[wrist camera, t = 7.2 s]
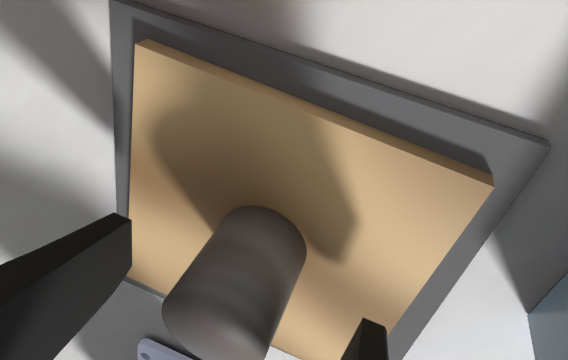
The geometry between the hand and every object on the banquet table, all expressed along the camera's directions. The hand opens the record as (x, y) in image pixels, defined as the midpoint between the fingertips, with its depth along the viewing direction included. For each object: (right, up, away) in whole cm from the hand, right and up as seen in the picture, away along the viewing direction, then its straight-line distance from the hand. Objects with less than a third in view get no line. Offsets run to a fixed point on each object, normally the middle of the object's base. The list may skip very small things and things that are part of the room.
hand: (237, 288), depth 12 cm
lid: (+1, +1, +2) cm, 3 cm away
